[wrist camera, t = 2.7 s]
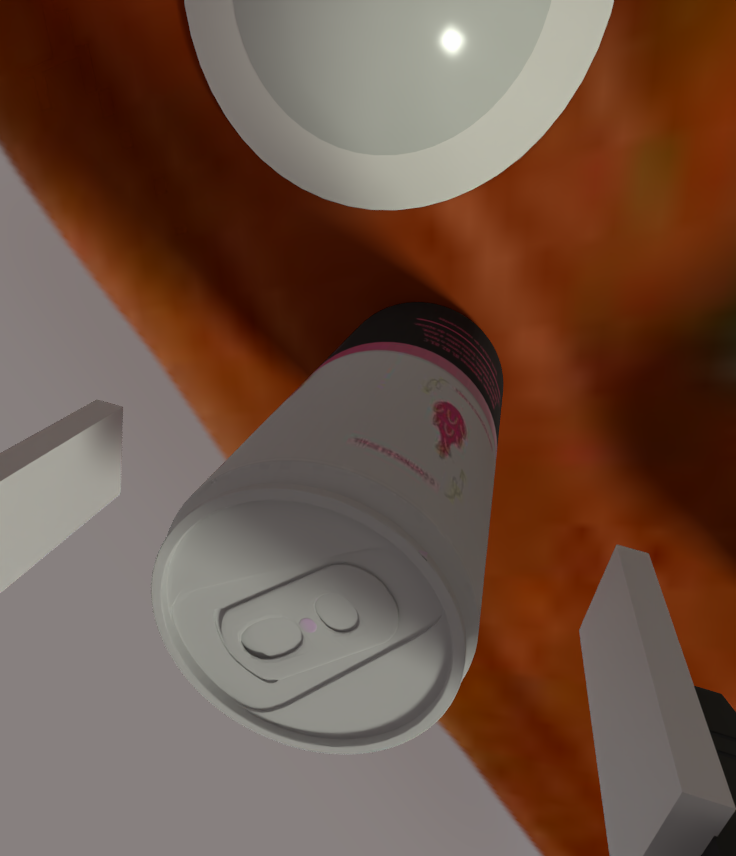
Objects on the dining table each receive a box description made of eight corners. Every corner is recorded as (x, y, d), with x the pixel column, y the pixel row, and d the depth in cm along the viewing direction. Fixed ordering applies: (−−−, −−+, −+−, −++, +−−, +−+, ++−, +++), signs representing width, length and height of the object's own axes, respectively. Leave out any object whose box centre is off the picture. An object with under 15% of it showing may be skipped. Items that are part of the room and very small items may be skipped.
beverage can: (312, 349, 26) (79, 558, 12) (451, 267, 23) (348, 416, 10) (394, 477, 27) (266, 787, 14) (533, 413, 25) (541, 717, 11)
